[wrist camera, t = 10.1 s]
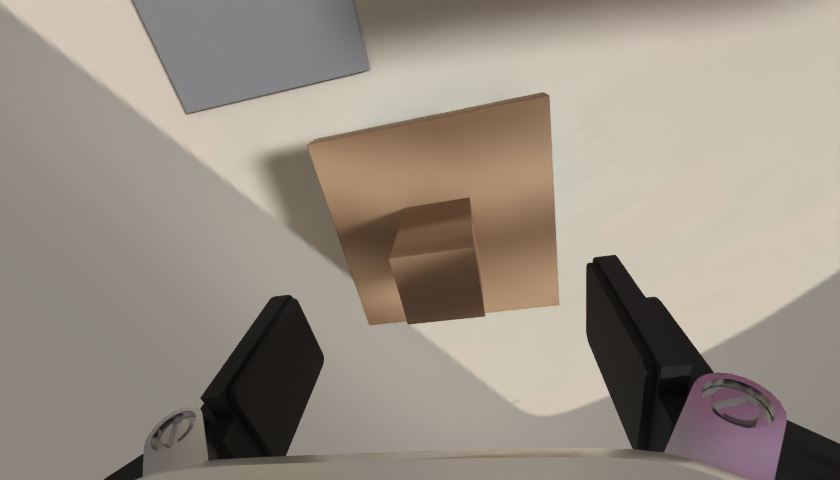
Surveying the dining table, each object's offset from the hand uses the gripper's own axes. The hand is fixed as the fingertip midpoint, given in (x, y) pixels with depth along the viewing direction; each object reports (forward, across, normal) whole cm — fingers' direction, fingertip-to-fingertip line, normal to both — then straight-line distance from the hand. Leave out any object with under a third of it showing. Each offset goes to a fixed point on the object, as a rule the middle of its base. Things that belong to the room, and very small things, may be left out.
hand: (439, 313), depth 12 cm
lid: (+9, 0, +1) cm, 9 cm away
